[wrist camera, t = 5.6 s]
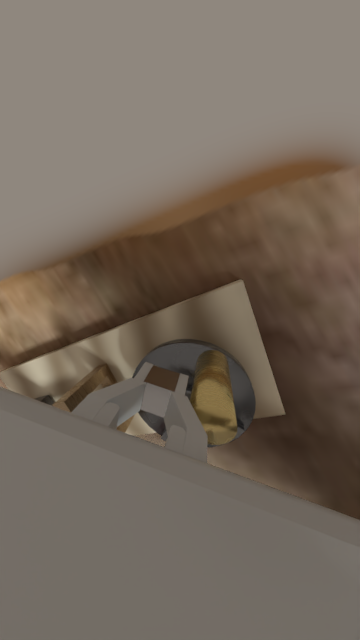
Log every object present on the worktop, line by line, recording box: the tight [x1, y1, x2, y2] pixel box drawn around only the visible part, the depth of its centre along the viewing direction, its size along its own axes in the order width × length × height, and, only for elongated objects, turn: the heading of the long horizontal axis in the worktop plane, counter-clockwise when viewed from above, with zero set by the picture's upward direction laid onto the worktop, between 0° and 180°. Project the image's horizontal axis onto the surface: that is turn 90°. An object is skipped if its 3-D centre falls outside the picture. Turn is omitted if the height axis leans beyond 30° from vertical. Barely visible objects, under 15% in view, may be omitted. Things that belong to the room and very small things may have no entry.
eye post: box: [52, 363, 134, 433], centre depth 17 cm, size 1×7×6 cm, turn 23°
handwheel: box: [132, 339, 256, 447], centre depth 12 cm, size 10×10×6 cm
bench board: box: [0, 279, 285, 436], centre depth 19 cm, size 34×14×4 cm, turn 113°
